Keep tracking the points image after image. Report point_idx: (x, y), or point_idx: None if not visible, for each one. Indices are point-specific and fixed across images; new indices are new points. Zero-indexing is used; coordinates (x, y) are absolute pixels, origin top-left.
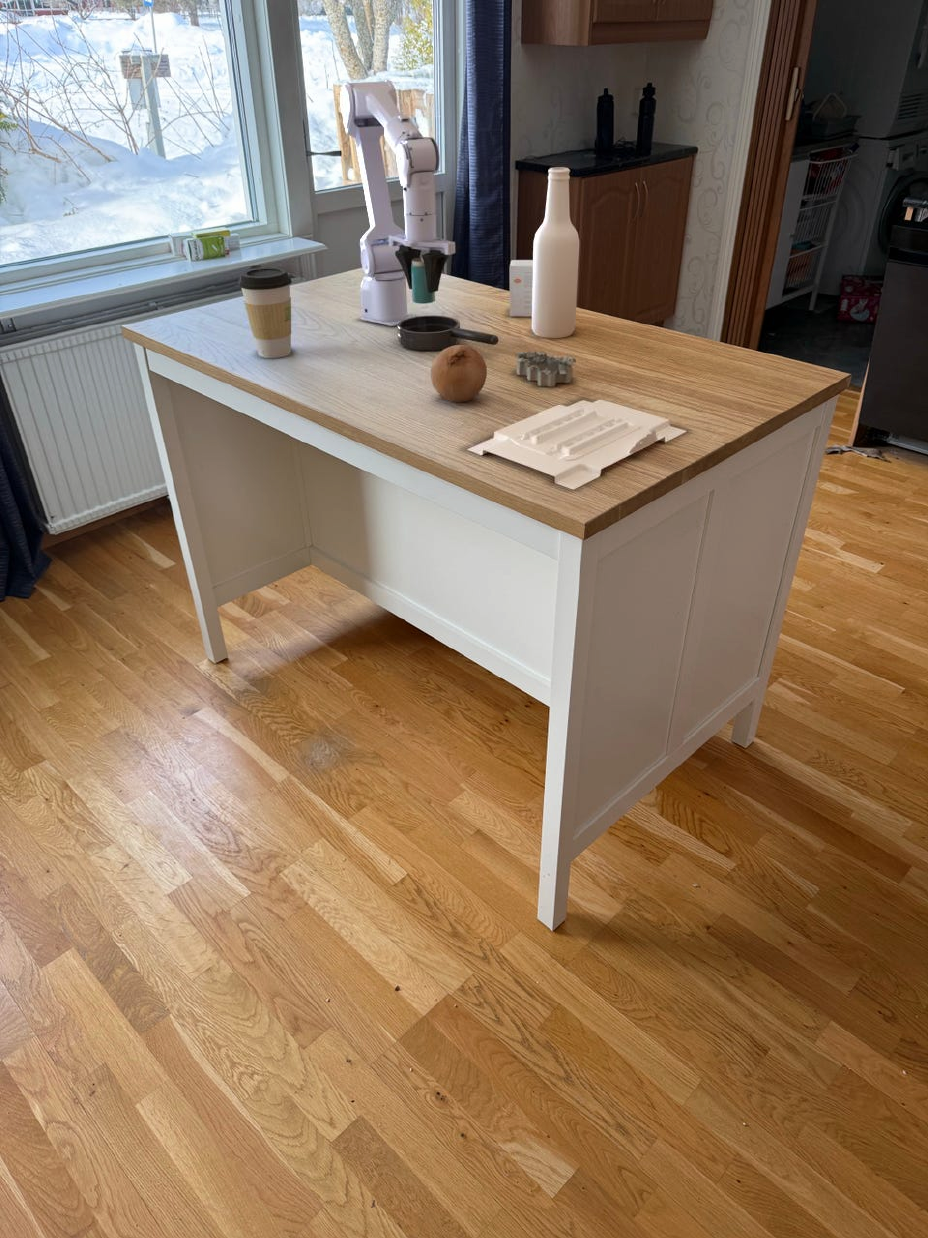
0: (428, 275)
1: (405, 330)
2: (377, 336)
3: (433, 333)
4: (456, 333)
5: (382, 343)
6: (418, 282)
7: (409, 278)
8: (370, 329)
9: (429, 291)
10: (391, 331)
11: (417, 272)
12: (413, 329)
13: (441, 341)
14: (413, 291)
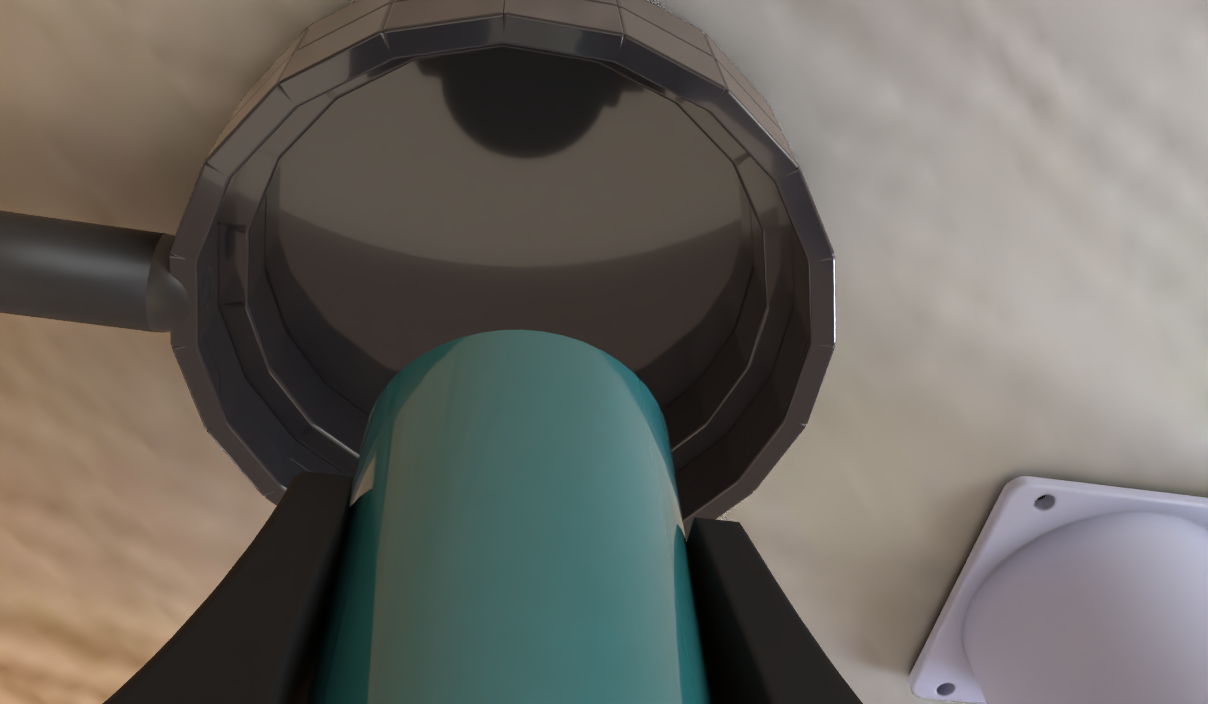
0: (247, 643)
1: (627, 44)
2: (1057, 220)
3: (268, 87)
4: (94, 235)
5: (933, 54)
6: (482, 522)
7: (732, 618)
8: (1183, 359)
9: (330, 478)
10: (980, 379)
11: (485, 653)
12: (734, 364)
13: (234, 112)
14: (604, 436)
